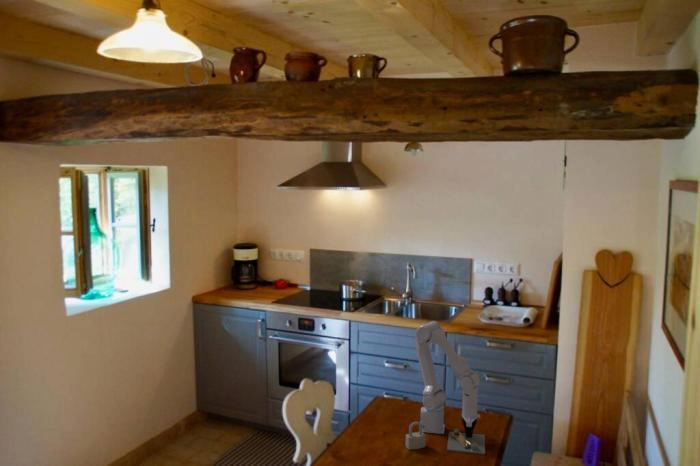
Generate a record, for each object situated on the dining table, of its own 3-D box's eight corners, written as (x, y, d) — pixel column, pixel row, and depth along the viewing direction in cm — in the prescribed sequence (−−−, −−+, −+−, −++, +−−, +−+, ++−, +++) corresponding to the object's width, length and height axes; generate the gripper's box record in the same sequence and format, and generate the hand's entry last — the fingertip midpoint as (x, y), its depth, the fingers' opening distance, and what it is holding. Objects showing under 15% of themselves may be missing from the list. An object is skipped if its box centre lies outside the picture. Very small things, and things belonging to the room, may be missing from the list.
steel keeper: (465, 445, 218) (465, 439, 218) (469, 444, 219) (470, 438, 218) (471, 450, 214) (471, 444, 214) (476, 449, 215) (476, 443, 215)
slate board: (447, 450, 215) (447, 449, 215) (449, 432, 230) (449, 431, 230) (485, 454, 212) (485, 453, 212) (484, 436, 227) (484, 434, 227)
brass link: (450, 434, 227) (450, 432, 227) (458, 433, 228) (458, 430, 228) (463, 448, 216) (463, 445, 216) (472, 446, 217) (472, 444, 216)
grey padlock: (421, 443, 221) (421, 418, 220) (426, 447, 218) (426, 422, 217) (404, 446, 219) (405, 421, 218) (409, 450, 215) (409, 425, 214)
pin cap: (453, 433, 225) (453, 430, 225) (453, 431, 227) (453, 428, 227) (459, 434, 224) (459, 431, 224) (459, 431, 226) (459, 428, 226)
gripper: (480, 411, 215) (479, 446, 216) (480, 397, 229) (479, 429, 230) (461, 410, 216) (460, 444, 217) (462, 395, 230) (461, 428, 232)
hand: (469, 436), depth 224 cm, fingers closed
